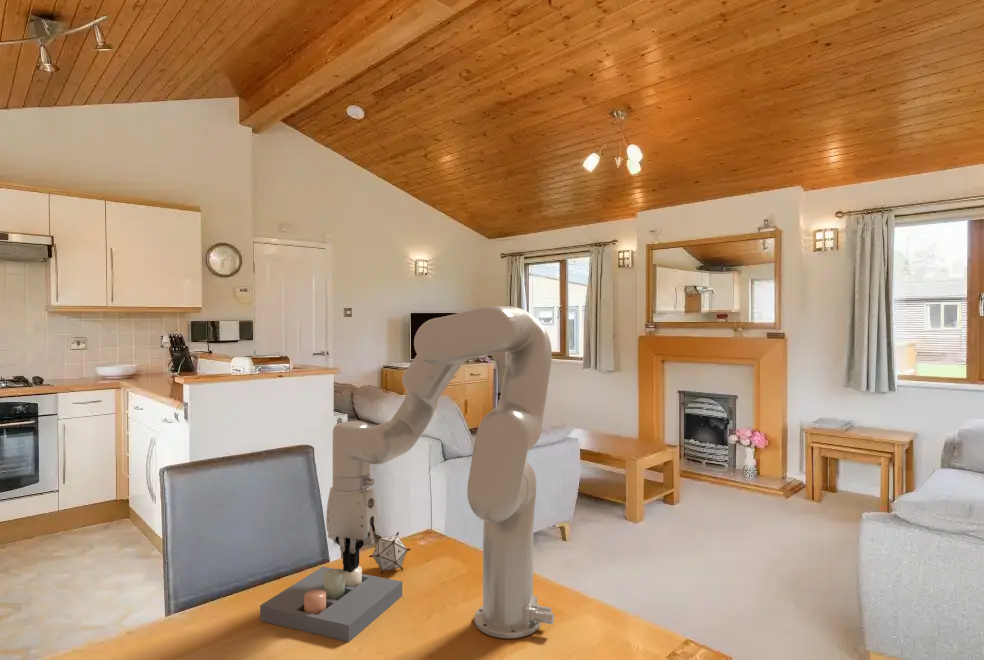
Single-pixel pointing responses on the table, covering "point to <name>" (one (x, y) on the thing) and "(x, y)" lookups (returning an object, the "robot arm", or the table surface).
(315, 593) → the pink egg
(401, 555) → the game die
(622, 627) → the table surface
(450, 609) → the table surface
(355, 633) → the panel
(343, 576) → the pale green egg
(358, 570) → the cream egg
